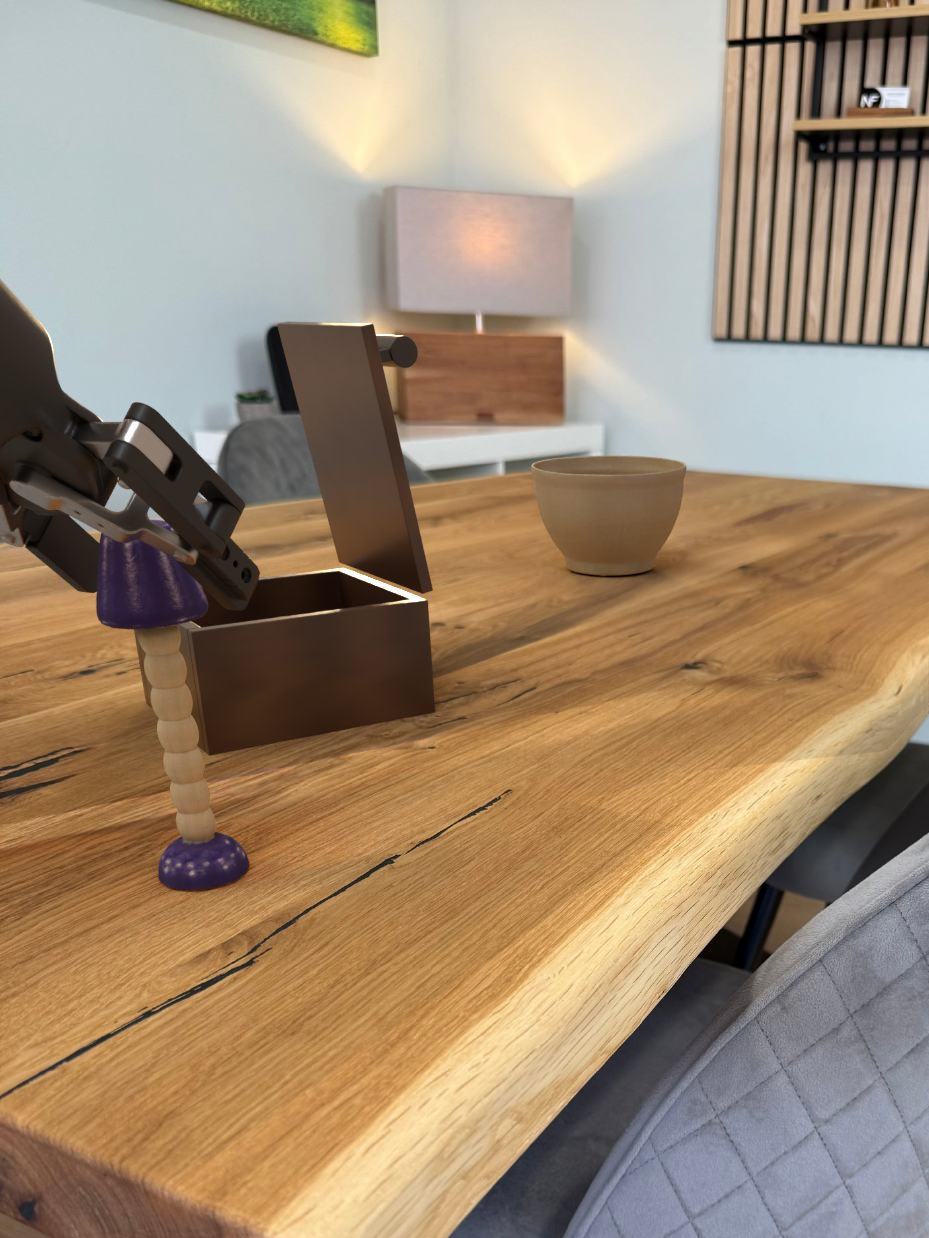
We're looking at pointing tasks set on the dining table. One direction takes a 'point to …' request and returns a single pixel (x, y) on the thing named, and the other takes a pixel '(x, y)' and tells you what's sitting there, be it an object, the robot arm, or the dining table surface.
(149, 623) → the toy lamp
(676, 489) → the planter bowl
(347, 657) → the chest
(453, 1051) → the dining table surface
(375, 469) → the lid
